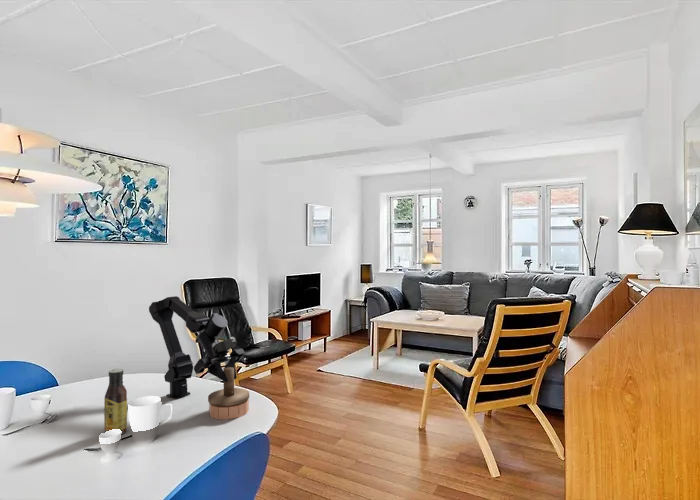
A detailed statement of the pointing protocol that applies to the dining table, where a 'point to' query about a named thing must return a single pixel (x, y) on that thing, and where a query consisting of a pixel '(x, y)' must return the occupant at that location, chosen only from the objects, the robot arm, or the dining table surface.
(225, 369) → the walnut lid
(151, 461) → the dining table surface
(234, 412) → the terracotta bowl
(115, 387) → the sauce bottle
